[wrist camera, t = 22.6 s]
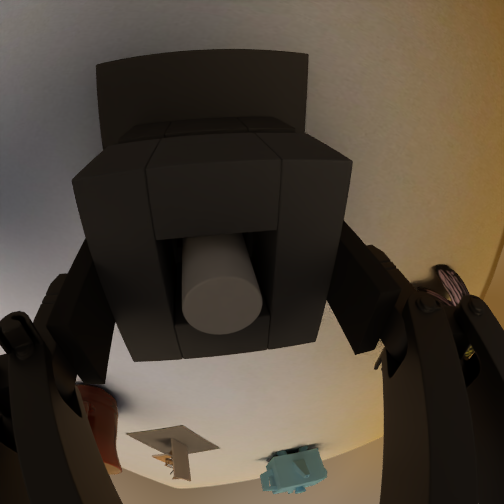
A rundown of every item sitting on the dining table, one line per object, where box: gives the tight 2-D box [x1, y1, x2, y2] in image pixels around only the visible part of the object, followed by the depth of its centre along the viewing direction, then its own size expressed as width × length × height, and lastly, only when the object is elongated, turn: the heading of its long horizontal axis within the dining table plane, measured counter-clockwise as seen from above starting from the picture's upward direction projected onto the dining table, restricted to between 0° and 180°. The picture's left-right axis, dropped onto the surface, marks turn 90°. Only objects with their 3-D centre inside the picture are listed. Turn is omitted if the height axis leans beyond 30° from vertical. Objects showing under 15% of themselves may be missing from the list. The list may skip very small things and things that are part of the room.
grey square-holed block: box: [72, 133, 353, 362], centre depth 11 cm, size 8×8×4 cm
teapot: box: [260, 446, 327, 494], centre depth 53 cm, size 16×18×11 cm
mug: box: [76, 384, 122, 474], centre depth 25 cm, size 12×9×10 cm
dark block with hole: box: [117, 117, 296, 263], centre depth 15 cm, size 8×8×4 cm
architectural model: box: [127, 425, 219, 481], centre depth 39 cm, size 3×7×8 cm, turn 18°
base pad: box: [96, 49, 309, 334], centre depth 13 cm, size 16×12×12 cm
